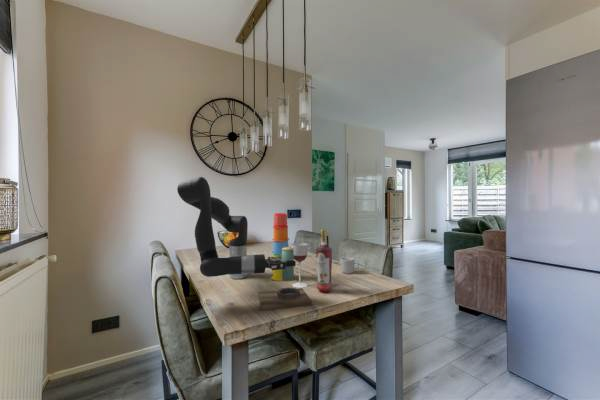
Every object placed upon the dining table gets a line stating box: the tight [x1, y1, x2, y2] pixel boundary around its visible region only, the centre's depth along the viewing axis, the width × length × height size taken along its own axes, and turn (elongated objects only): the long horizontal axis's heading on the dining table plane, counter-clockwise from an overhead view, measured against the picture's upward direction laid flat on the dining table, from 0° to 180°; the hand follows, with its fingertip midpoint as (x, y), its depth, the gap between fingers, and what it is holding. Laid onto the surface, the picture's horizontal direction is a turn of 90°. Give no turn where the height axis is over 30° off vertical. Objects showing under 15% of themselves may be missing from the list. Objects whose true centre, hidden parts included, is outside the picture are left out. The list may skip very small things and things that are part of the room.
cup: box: [339, 256, 360, 275], centre depth 150 cm, size 11×8×8 cm
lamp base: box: [257, 287, 313, 311], centre depth 111 cm, size 16×20×4 cm
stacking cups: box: [270, 212, 290, 282], centre depth 142 cm, size 10×10×35 cm
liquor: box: [315, 228, 333, 294], centre depth 122 cm, size 7×7×28 cm
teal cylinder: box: [282, 246, 295, 282], centre depth 111 cm, size 5×5×13 cm
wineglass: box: [290, 242, 309, 289], centre depth 130 cm, size 8×9×20 cm
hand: (293, 261), depth 112 cm, fingers closed on teal cylinder, 5 cm apart
